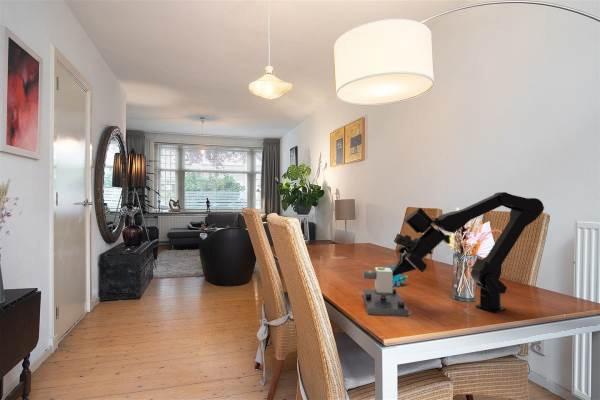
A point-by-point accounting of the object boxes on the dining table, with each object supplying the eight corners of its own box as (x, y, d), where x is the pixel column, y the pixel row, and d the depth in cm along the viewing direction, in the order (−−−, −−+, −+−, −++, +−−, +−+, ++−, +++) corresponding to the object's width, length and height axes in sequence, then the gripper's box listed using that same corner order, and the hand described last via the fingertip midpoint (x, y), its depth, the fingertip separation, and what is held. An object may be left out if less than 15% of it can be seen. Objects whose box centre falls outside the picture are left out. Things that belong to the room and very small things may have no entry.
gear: (380, 282, 128) (381, 262, 135) (378, 290, 132) (378, 269, 139) (408, 287, 126) (407, 266, 133) (405, 294, 130) (404, 274, 137)
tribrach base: (396, 296, 116) (396, 287, 116) (408, 316, 96) (408, 305, 96) (363, 294, 117) (363, 286, 117) (368, 314, 97) (368, 304, 97)
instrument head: (390, 290, 109) (391, 266, 109) (393, 296, 103) (394, 269, 103) (363, 289, 110) (363, 265, 110) (364, 294, 104) (364, 269, 104)
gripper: (403, 223, 115) (372, 252, 116) (415, 228, 96) (378, 263, 98) (425, 245, 114) (394, 274, 115) (442, 254, 95) (404, 289, 97)
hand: (392, 274), depth 106 cm, fingers closed
